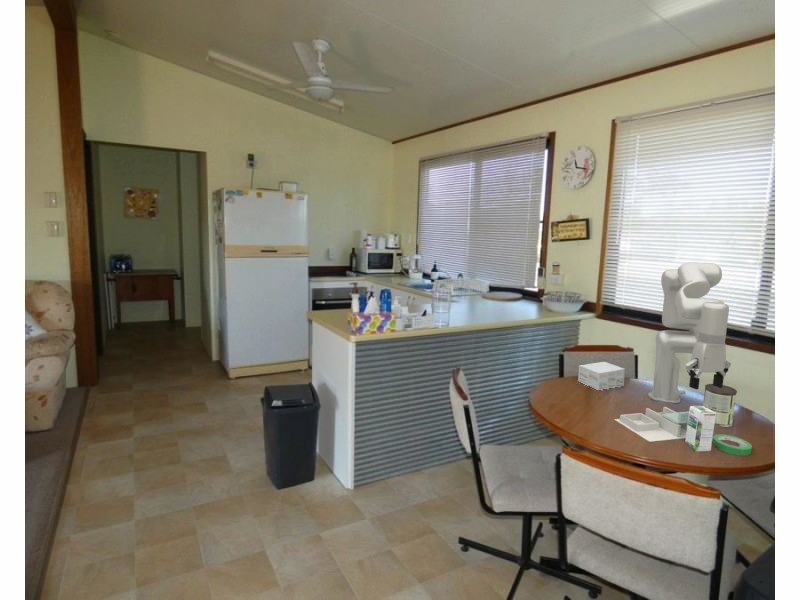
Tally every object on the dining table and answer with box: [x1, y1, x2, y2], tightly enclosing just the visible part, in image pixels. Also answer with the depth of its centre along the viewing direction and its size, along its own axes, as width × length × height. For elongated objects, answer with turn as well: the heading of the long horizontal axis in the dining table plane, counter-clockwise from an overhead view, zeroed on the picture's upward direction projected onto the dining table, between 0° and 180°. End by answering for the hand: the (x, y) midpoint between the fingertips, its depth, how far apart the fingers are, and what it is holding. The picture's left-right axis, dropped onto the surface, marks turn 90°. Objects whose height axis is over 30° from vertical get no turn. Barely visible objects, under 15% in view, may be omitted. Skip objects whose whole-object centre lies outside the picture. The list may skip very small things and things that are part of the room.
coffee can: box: [702, 383, 738, 428], centre depth 177 cm, size 10×10×14 cm
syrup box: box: [685, 405, 716, 453], centre depth 155 cm, size 6×6×14 cm
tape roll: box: [712, 433, 753, 456], centre depth 157 cm, size 11×11×3 cm
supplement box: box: [577, 361, 626, 391], centre depth 219 cm, size 17×13×9 cm
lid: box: [662, 410, 689, 424], centre depth 166 cm, size 9×7×4 cm
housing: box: [613, 406, 688, 442], centre depth 170 cm, size 22×19×6 cm
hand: (705, 387), depth 153 cm, fingers open, 9 cm apart
